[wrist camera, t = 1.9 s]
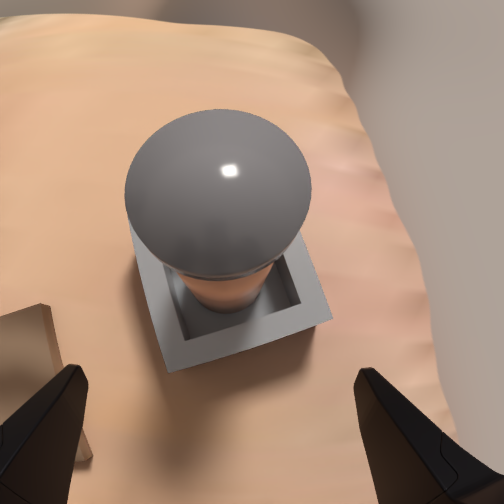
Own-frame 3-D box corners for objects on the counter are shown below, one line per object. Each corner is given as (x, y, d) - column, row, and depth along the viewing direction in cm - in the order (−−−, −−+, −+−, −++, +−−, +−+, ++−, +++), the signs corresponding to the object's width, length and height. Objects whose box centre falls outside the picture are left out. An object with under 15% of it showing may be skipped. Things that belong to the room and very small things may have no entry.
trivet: (93, 455, 18) (85, 460, 17) (-6, 459, 16) (-16, 462, 15) (50, 306, 21) (40, 303, 20) (-39, 334, 19) (-49, 333, 18)
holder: (316, 323, 22) (333, 318, 18) (179, 368, 21) (168, 373, 17) (269, 199, 25) (275, 172, 21) (143, 236, 23) (127, 215, 19)
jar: (279, 303, 21) (340, 238, 9) (198, 329, 21) (146, 299, 8) (252, 227, 23) (272, 95, 10) (175, 251, 22) (114, 136, 10)
